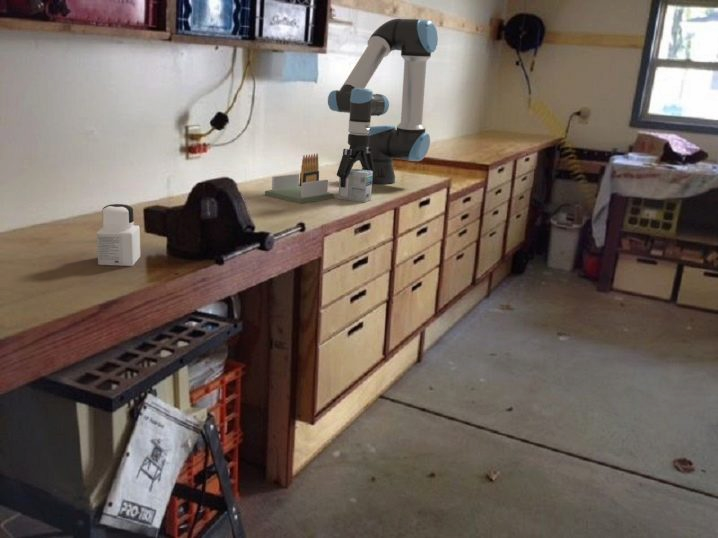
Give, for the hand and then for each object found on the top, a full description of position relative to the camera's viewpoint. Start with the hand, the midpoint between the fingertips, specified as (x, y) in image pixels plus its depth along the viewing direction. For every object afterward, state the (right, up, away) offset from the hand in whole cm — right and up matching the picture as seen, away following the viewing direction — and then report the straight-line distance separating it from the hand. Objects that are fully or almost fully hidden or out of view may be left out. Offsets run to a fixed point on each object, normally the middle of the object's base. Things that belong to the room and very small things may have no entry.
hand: (354, 194), depth 243 cm
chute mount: (-20, -1, -1) cm, 20 cm away
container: (-54, -25, -88) cm, 106 cm away
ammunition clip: (-18, +6, +23) cm, 30 cm away
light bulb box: (0, -2, +1) cm, 2 cm away
